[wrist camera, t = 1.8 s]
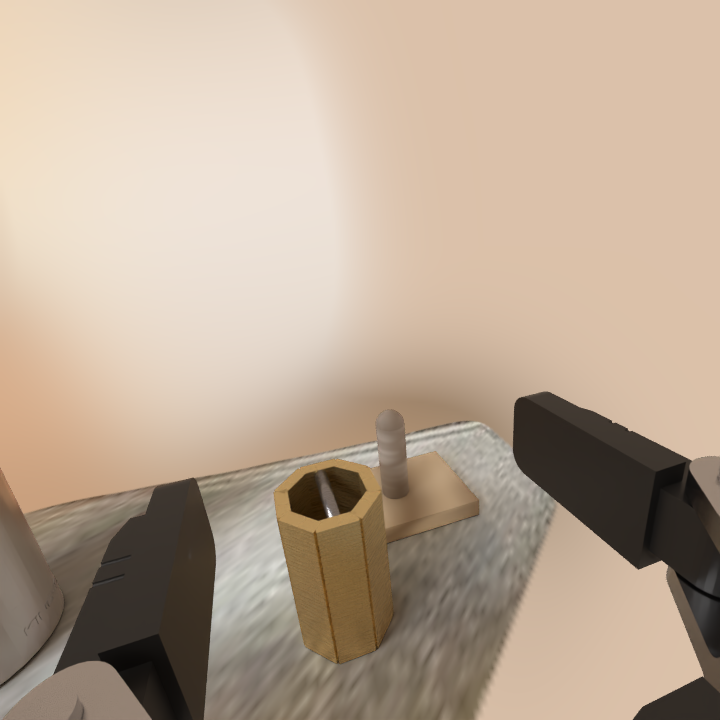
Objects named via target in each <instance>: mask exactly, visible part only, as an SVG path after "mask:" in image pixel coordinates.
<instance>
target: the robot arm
mask: <svg viewBox="0 0 720 720" xmlns="http://www.w3.org/2000/svg"><path fill="white" fill-rule="evenodd" d="M513 454H514V458H515V461H516V463H517V465H518V467H519V468H520V470H521V471H522V472H523V473H524V474H525V475H526V476H528V477H529V478H530V479H531V480H532V481H534V482H535V483H536V484H537V485H538V486H540V487H541V488H542V489H543V490H544V491H545V492H547V493H548V494H549V495H550V496H551V497H553V498H554V499H555V500H556V501H557V502H559V503H560V504H561V505H562V506H563V507H565V508H566V509H567V510H568V511H569V512H571V513H572V514H573V515H574V516H575V517H576V518H578V519H579V520H580V521H581V522H582V523H583V524H585V525H586V526H587V527H588V528H590V529H591V530H592V531H593V532H594V533H595V534H597V535H598V536H599V537H600V538H601V539H602V540H604V541H605V542H606V543H607V544H608V545H610V546H611V547H612V548H613V549H614V550H616V551H617V552H618V553H619V554H620V555H621V556H623V557H624V558H625V559H626V560H627V561H629V562H630V563H631V564H632V565H633V566H635V567H636V568H637V569H641V568H643V567H646V566H648V565H651V564H654V563H656V562H659V561H661V560H662V561H663V562H665V563H666V564H667V565H668V569H667V574H666V576H667V582H668V585H669V587H670V590H671V593H672V595H673V597H674V600H675V603H676V605H677V608H678V610H679V613H680V615H681V618H682V620H683V623H684V625H685V628H686V630H687V633H688V635H689V638H690V640H691V643H692V645H693V648H694V650H695V653H696V656H697V658H698V661H699V663H700V666H701V668H702V671H703V674H704V677H701V678H699V679H696V680H695V681H693V682H691V683H689V684H687V685H685V686H683V687H681V688H679V689H677V690H675V691H673V692H671V693H669V694H667V695H665V696H663V697H661V698H659V699H657V700H655V701H653V702H651V703H649V704H647V705H645V706H643V707H642V708H641V709H640V711H639V712H638V713H637V715H636V716H635V717H634V719H633V720H720V457H716V456H709V457H701V458H698V459H695V460H693V461H691V460H689V459H687V458H685V457H683V456H681V455H679V454H677V453H675V452H673V451H671V450H669V449H667V448H665V447H663V446H661V445H659V444H657V443H655V442H653V441H651V440H649V439H647V438H645V437H643V436H641V435H639V434H637V433H635V432H633V431H630V432H629V431H628V429H627V428H625V427H623V426H621V425H619V424H617V423H612V421H611V420H609V419H607V418H605V417H603V416H601V415H599V414H597V413H595V412H593V411H590V410H587V409H583V408H580V407H578V406H576V405H574V404H572V403H570V402H568V401H566V400H564V399H562V398H560V397H558V396H556V395H554V394H552V393H550V392H541V393H537V394H533V395H529V396H525V397H521V398H519V399H518V400H517V401H516V403H515V406H514V431H513ZM215 568H216V553H215V544H214V538H213V534H212V531H211V527H210V524H209V520H208V517H207V514H206V510H205V507H204V504H203V500H202V497H201V493H200V490H199V487H198V484H197V482H196V480H195V479H194V478H190V479H186V480H182V481H178V482H174V483H170V484H166V485H161V486H157V487H156V488H155V489H154V491H153V494H152V497H151V500H150V503H149V505H148V508H147V511H146V514H145V515H142V516H138V517H134V518H130V519H129V521H128V522H127V523H126V524H125V525H124V526H123V527H122V528H121V529H120V531H119V532H118V533H117V534H116V535H115V536H114V537H113V538H112V540H111V541H110V543H109V546H108V548H107V550H106V553H105V555H104V557H103V560H102V562H101V567H100V568H99V569H98V571H97V574H96V576H95V578H94V581H93V588H90V590H89V592H88V595H87V597H86V599H85V602H84V604H83V606H82V609H81V611H80V613H79V616H78V618H77V620H76V623H75V625H74V627H73V630H72V632H71V634H70V637H69V639H68V641H67V644H66V646H65V648H64V651H63V653H62V655H61V658H60V660H59V662H58V665H57V667H56V669H55V672H54V674H53V676H51V677H49V678H48V679H46V680H45V681H43V682H42V683H40V684H39V685H38V686H36V687H35V688H34V689H32V690H31V691H30V692H29V693H28V694H27V695H25V696H24V697H23V698H22V699H21V700H20V701H19V702H18V703H17V704H16V705H15V706H14V707H13V708H12V709H11V710H10V711H9V712H8V714H7V715H6V716H5V717H4V718H3V719H2V720H204V708H205V695H206V683H207V670H208V657H209V644H210V632H211V619H212V606H213V593H214V581H215ZM63 609H64V597H63V594H62V592H61V590H60V588H59V586H58V584H57V580H56V578H55V576H53V574H52V572H51V570H50V568H49V566H48V564H47V562H46V560H45V557H44V555H43V553H42V551H41V549H40V547H39V545H38V543H37V541H36V539H35V537H34V535H33V533H32V531H31V529H30V527H29V525H28V523H27V521H26V519H25V517H24V515H23V513H22V511H21V509H20V507H19V505H18V502H17V500H16V499H15V497H14V495H13V492H12V490H11V488H10V486H9V485H8V483H7V481H6V479H5V476H4V474H3V472H2V470H1V468H0V685H1V684H2V683H4V682H5V681H6V680H8V679H9V678H10V677H11V676H12V675H13V674H15V673H16V672H17V671H18V670H19V669H20V668H22V667H23V666H24V665H25V664H26V663H27V662H28V661H29V660H30V659H31V658H32V657H33V656H34V655H35V654H36V653H37V652H38V650H39V649H40V648H41V647H42V646H43V645H44V643H45V642H46V641H47V639H48V638H49V637H50V635H51V634H52V633H53V631H54V629H55V627H56V626H57V624H58V622H59V620H60V618H61V615H62V612H63Z"/></svg>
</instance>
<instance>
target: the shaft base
mask: <svg viewBox="0 0 720 720" xmlns="http://www.w3.org/2000/svg"><path fill="white" fill-rule="evenodd" d="M376 433H377V443H378V453H379V463H380V466H378V467H374V468H370V469H371V471H372V473H373V475H374V477H375V479H376V480H377V482H378V484H379V486H380V488H381V491H382V501H383V511H384V521H385V531H386V541H387V543H389V542H393V541H396V540H399V539H402V538H405V537H408V536H412V535H415V534H418V533H421V532H424V531H427V530H431V529H434V528H437V527H440V526H443V525H447V524H450V523H453V522H456V521H459V520H462V519H466V518H469V517H472V516H475V515H478V514H479V500H478V498H477V497H476V496H475V495H474V494H473V493H472V492H471V491H470V489H469V488H468V487H467V486H466V485H465V484H464V483H463V482H462V480H461V479H460V478H459V477H458V476H457V475H456V474H455V472H454V471H453V470H452V469H451V468H450V467H449V466H448V465H447V463H446V462H445V461H444V460H443V459H442V458H441V457H440V456H439V454H438V453H437V452H436V451H434V452H430V453H427V454H423V455H419V456H415V457H412V458H408V459H407V456H406V442H405V428H404V420H403V417H402V416H401V414H400V413H398V412H397V411H395V410H385V411H383V412H381V413H380V414H379V415H378V417H377V419H376Z"/></svg>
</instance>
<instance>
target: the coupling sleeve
mask: <svg viewBox="0 0 720 720" xmlns="http://www.w3.org/2000/svg"><path fill="white" fill-rule="evenodd" d="M274 500H275V508H276V516H277V522H278V526H279V531H280V535H281V540H282V545H283V549H284V554H285V558H286V563H287V568H288V572H289V577H290V581H291V586H292V591H293V595H294V600H295V604H296V609H297V614H298V618H299V623H300V627H301V632H302V637H303V641H304V645H305V646H306V647H307V648H308V649H310V650H312V651H314V652H316V653H318V654H319V655H321V656H323V657H325V658H327V659H328V660H330V661H332V662H334V663H336V664H337V663H338V661H339V664H341V663H344V662H347V661H349V660H352V659H355V658H357V657H360V656H362V655H365V654H368V653H370V652H373V651H376V648H379V645H380V643H381V641H382V639H383V637H384V635H385V632H386V630H387V628H388V626H389V624H390V622H391V620H392V617H393V602H392V592H391V582H390V572H389V562H388V552H387V541H386V531H385V521H384V511H383V501H382V491H381V488H380V486H379V484H378V482H377V480H376V479H375V477H374V475H373V473H372V471H371V469H370V467H368V466H365V465H361V464H357V463H353V462H349V461H345V460H340V459H336V460H335V459H331V460H327V461H323V462H319V463H315V464H312V465H308V466H304V467H300V469H297V470H296V471H295V472H294V473H293V474H292V475H290V476H289V477H288V478H287V479H286V480H285V481H284V482H283V483H282V484H281V485H280V486H279V487H278V488H277V489H276V490H275V492H274Z"/></svg>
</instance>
